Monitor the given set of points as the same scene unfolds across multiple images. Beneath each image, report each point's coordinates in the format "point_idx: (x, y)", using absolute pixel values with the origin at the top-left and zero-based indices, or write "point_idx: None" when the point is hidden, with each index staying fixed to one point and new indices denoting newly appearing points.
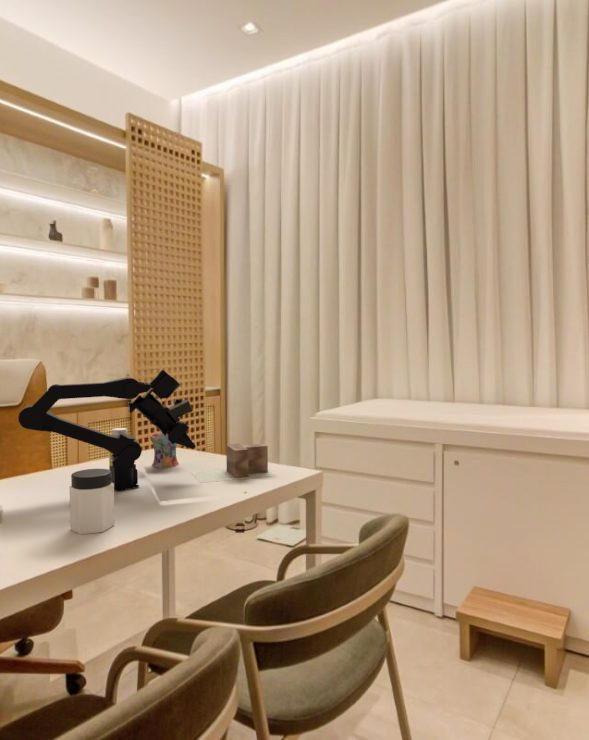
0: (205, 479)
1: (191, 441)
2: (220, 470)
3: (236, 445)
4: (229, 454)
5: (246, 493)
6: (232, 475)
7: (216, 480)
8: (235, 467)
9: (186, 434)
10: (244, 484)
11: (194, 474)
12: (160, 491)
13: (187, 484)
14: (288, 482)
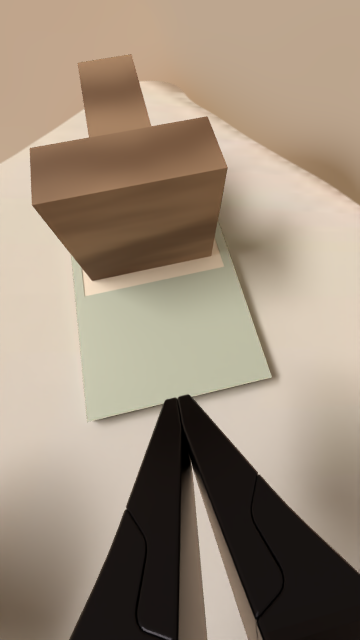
0: (222, 356)
1: (229, 441)
2: (86, 301)
3: (78, 159)
4: (120, 222)
5: (355, 236)
6: (176, 262)
7: (242, 315)
8: (215, 229)
9: (357, 580)
10: (251, 237)
11: (128, 405)
12: (346, 555)
13: (234, 430)
14: (238, 139)
